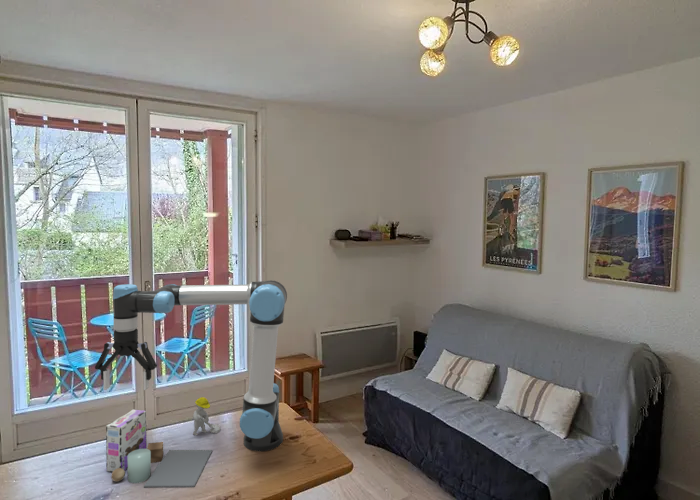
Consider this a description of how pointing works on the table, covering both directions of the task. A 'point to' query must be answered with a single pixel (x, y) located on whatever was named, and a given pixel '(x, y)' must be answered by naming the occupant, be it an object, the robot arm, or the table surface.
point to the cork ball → (118, 474)
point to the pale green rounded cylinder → (139, 465)
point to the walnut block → (156, 451)
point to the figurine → (200, 420)
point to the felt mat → (179, 469)
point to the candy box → (125, 438)
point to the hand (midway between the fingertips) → (126, 388)
